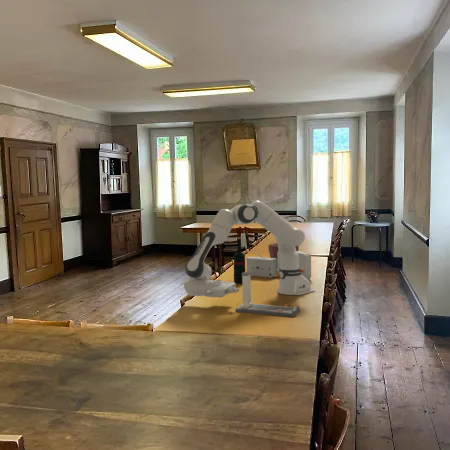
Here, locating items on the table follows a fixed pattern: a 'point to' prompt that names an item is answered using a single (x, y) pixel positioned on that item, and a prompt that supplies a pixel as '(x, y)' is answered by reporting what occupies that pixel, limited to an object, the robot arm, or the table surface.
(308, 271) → the rounded white slab
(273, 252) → the bucket
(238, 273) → the wine bottle
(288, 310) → the board
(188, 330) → the table surface
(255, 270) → the stereo radio cassette player
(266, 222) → the robot arm
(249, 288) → the fader tab
